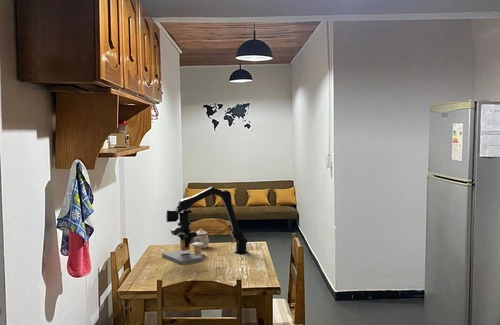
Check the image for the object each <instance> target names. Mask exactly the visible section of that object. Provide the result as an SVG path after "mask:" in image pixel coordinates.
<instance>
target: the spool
mask: <svg viewBox="0 0 500 325" xmlns="http://www.w3.org/2000/svg"><path fill="white" fill-rule="evenodd" d="M191 246H192V247H193V248H194V249H193V250H194V252H193V253H194V254H196V255H199V256H202V257H204V254H205V253H204V252H203V251H202V248H201V246H203V243H202V242H195V243H194V242H192V243H191Z"/></svg>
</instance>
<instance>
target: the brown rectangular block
mask: <svg viewBox="0 0 500 325" xmlns="http://www.w3.org/2000/svg"><path fill="white" fill-rule="evenodd" d="M179 242H180V243H179V244H180V250H182V251H190V250H191V245H190V244H191V243H189V246H188V248H186V246H185V240H184V239H183V240H181V239H180V240H179Z"/></svg>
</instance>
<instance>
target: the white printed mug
mask: <svg viewBox="0 0 500 325" xmlns="http://www.w3.org/2000/svg"><path fill="white" fill-rule="evenodd" d="M195 232H196V233H197V237H193V241H194V242H193V243H195V242H202V243H203V246H201V249H205V248H208V247H209V244H210V243H209V242H210V237H208V235H209V233H208V232H207V231H205V230H203V228H199V230H197V231H195Z"/></svg>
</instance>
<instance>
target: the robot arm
mask: <svg viewBox="0 0 500 325" xmlns="http://www.w3.org/2000/svg"><path fill="white" fill-rule="evenodd" d="M212 195H215V196H217V197H219V198H220V200H221V201H222V204H223V205H224V207H225V210H226V214H227V217H228V220H229V223H230V226H231V229H229V232H230V237H231V238H232V239H233V240H235V251H234V253H235V254H238V255H243V254H249V251H247V243H248V241H249V240H248V239H247V238H245V235H244V232H243V231H242V230H241V228H240V226H239V224H238V219H237V217H236V214H235V211H234V208H233V203H232V202H233V199H232V194H231V192H230V191H229V190H227V189H222V190H221V189H219V188H217V187H216V188H215V187H214V186H210V187H208V188H205V189H204V190H203V191H200V192H198V193H197V194H194V195H193V196H190V197H185V198H182V199H180V200H179V201H178V205H176V206H177V207H176V208H175V209H172V210H169V209H167V210H166V223H173V222H174V223H175V222H177V221H178V220H179V222H177V225H176V226H174V227H172V228H171V229H170V232H171V235H172V236H177V237H178V238H179V239H180V240H183V239H184V240H185V246H186V248H188V246H189V243H190V242H191V241H192V239H193V238H194V237H197V233H196V232H197V231H193V230H192V229H191V228H190V225H192V222H190V214H193V211H192V210H191V209H190V208H191V207H192V206H193V205H194V204H195V203H198V202H200V201H201V200H204V199H206V198H208V197H209V196H212ZM190 244H191V243H190Z"/></svg>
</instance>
